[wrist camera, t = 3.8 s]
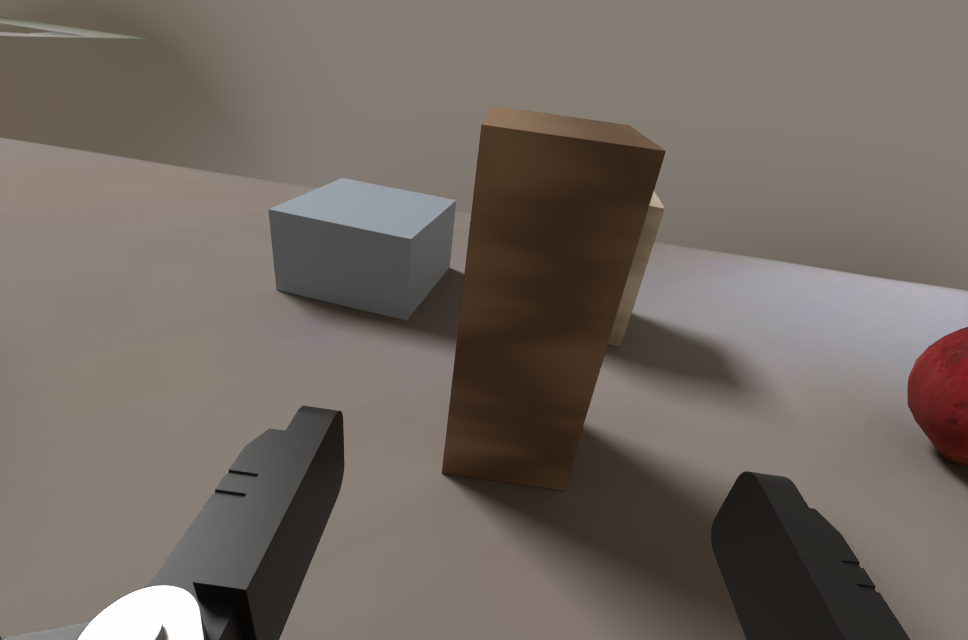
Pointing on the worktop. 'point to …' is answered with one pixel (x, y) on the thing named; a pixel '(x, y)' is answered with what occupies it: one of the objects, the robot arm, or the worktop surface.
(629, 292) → the birch block
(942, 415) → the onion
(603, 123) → the walnut block
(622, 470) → the worktop surface
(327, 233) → the base block
